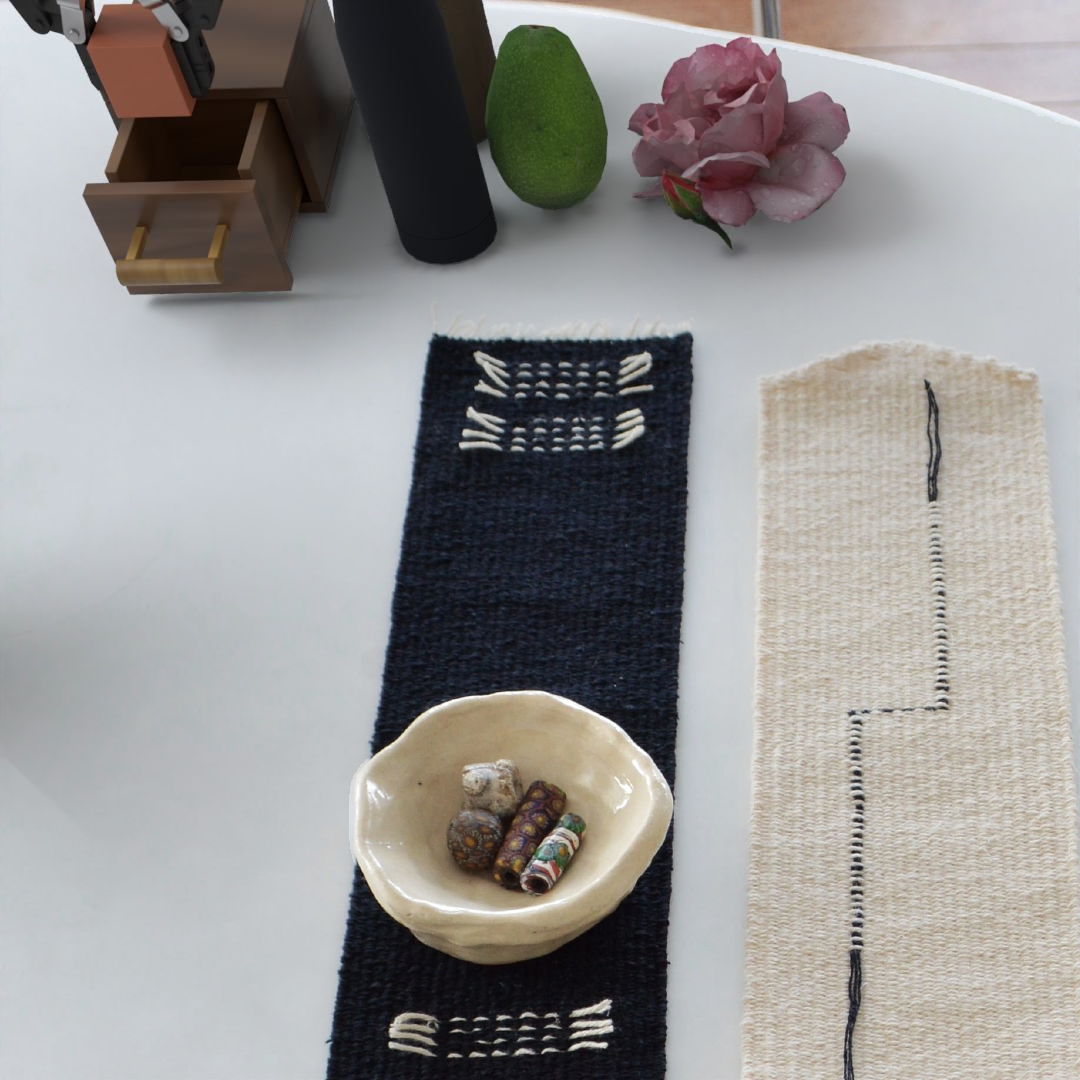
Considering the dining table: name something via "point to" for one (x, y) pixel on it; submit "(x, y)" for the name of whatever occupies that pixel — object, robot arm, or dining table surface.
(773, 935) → the dining table surface
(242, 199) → the drawer
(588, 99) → the fruit
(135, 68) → the block
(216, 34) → the cabinet
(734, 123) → the flower
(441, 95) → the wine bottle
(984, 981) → the dining table surface
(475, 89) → the pillar candle
